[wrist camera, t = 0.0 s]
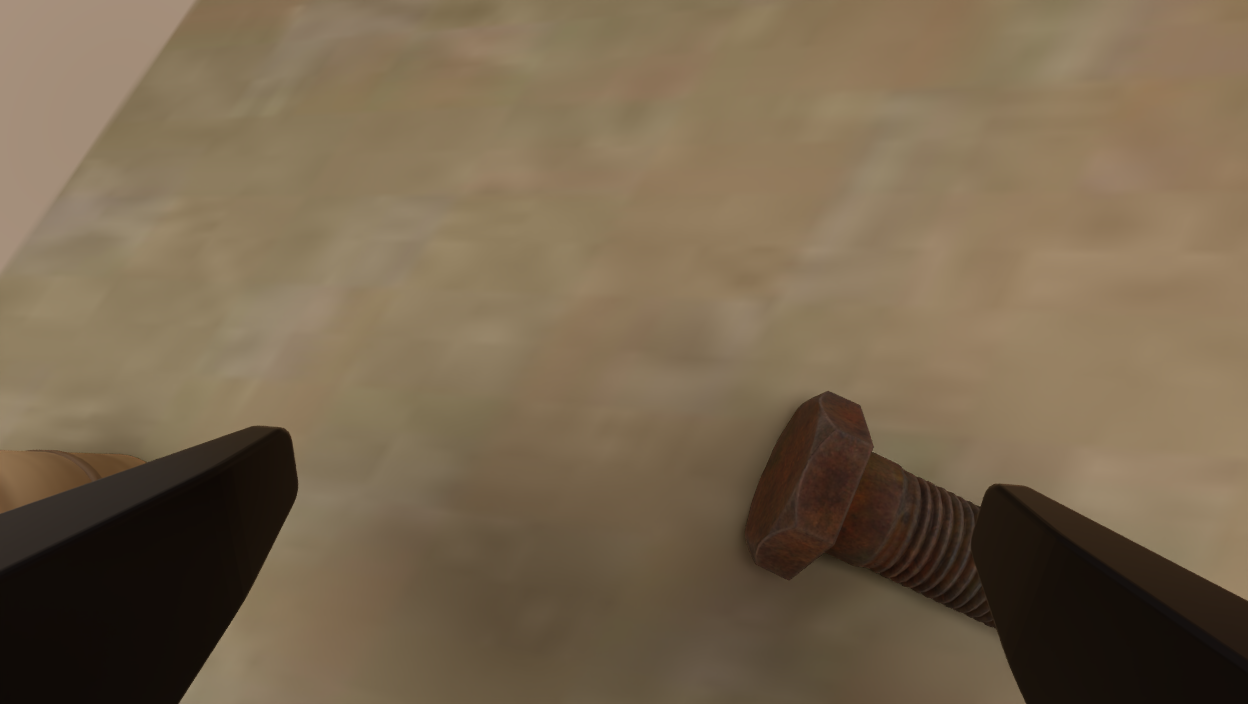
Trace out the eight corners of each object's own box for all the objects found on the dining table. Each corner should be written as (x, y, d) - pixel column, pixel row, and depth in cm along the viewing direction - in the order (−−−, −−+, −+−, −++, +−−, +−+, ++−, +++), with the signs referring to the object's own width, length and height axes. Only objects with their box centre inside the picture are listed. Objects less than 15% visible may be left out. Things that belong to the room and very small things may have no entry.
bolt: (1139, 672, 24) (746, 487, 25) (1240, 565, 22) (813, 369, 23) (1246, 830, 19) (741, 588, 20) (1391, 706, 17) (827, 445, 18)
